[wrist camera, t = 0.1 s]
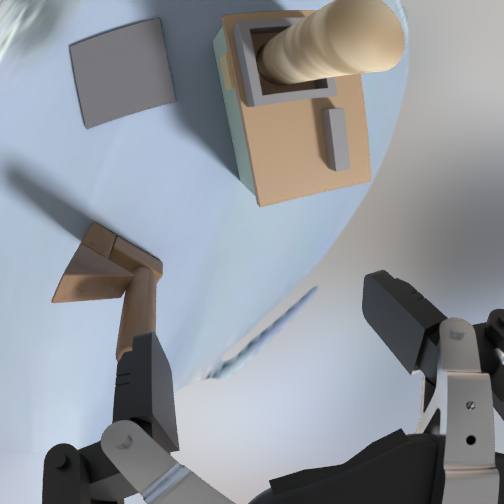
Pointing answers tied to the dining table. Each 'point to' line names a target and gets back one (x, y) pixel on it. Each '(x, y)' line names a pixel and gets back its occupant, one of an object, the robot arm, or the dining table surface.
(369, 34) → the tan ridged cylinder
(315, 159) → the pale green box
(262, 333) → the dining table surface
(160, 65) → the charcoal mat
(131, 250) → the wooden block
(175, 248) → the dining table surface
